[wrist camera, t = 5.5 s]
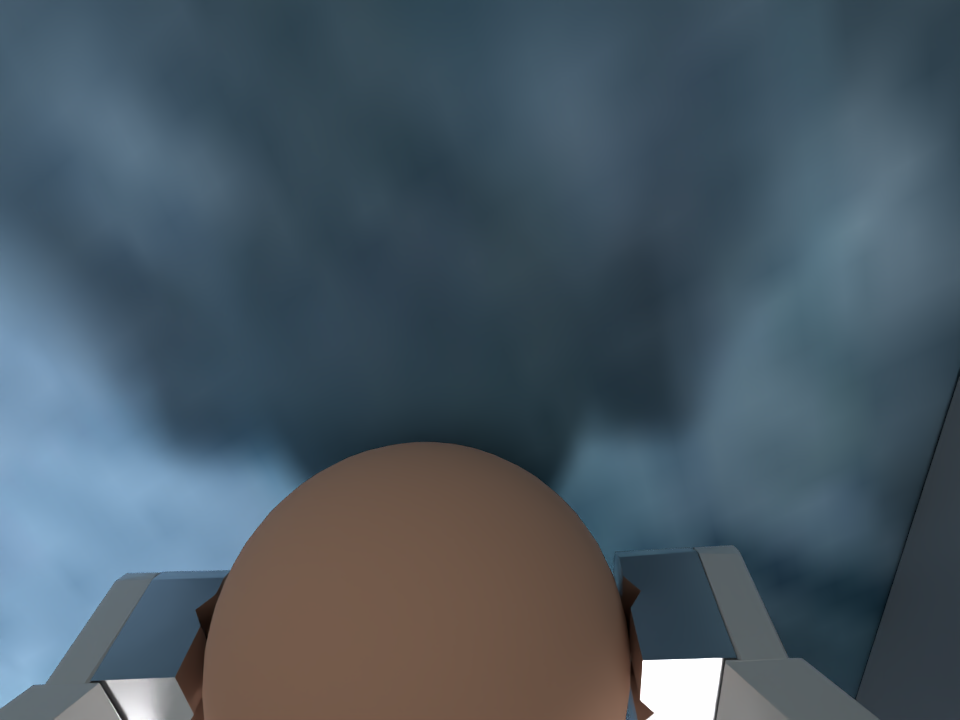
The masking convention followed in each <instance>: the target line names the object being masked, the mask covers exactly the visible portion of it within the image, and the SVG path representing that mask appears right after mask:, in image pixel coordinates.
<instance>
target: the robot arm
mask: <svg viewBox="0 0 960 720" xmlns="http://www.w3.org/2000/svg"><path fill="white" fill-rule="evenodd" d="M229 572H230V570H223V571H173V572H155V573H127V574H125V575H124V576H122V577H121V578H119V579H118V580H116V581H115V583H114V584H113V585H112V587H111V588H110V590H109V591H108V593H107V594H106V596H105V597H104V599H103V600H102V601H101V603H100V604H99V606H98V607H97V609H96V610H95V612H94V613H93V615H92V616H91V618H90V619H89V621H88V622H87V623H86V625H85V626H84V628H83V629H82V631H81V632H80V634H79V635H78V637H77V638H76V640H75V641H74V643H73V644H72V645H71V647H70V648H69V650H68V651H67V653H66V654H65V656H64V657H63V659H62V660H61V662H60V663H59V665H58V666H57V667H56V669H55V670H54V672H53V673H52V675H51V676H50V678H49V679H48V681H47V682H46V684H43V685H33V686H31V687H30V688H28V689H27V690H26V691H24V692H23V693H22V694H20V695H19V696H17V697H16V698H15V699H13V700H12V701H11V702H9V703H8V704H6V705H5V706H4V707H2V708H1V709H0V720H204V710H203V699H202V688H203V670H204V655H205V647H206V642H207V638H208V633H209V629H210V624H211V621H212V617H213V613H214V609H215V606H216V603H217V600H218V598H219V595H220V593H221V590H222V588H223V585H224V582H225V580H226V578H227V576H228V574H229ZM613 573H614V578H615V582H616V585H617V588H618V592H619V595H620V598H621V602H622V606H623V609H624V613H625V617H626V622H627V629H628V636H629V644H630V660H631V671H630V693H629V700H628V707H627V709H628V714H629V719H630V720H880V719H879V718H877V717H876V716H875V715H874V714H872V713H871V712H870V711H869V710H867V709H866V708H865V707H864V706H862V705H861V704H860V703H858V702H857V701H856V700H855V699H853V698H852V697H851V696H850V695H848V694H847V693H846V692H845V691H843V690H842V689H841V688H840V687H838V686H837V685H836V684H835V683H833V682H832V681H831V680H829V679H828V678H827V677H826V676H824V675H823V674H822V673H821V672H819V671H818V670H817V669H816V668H814V667H813V666H812V665H811V664H809V663H808V662H807V661H806V660H804V659H803V658H789V657H788V655H787V653H786V651H785V648H784V646H783V644H782V642H781V640H780V638H779V635H778V633H777V631H776V629H775V627H774V625H773V623H772V620H771V618H770V616H769V614H768V612H767V610H766V607H765V605H764V603H763V601H762V599H761V597H760V595H759V592H758V590H757V588H756V586H755V584H754V582H753V579H752V577H751V575H750V573H749V571H748V569H747V566H746V564H745V562H744V560H743V558H742V556H741V554H740V551H739V550H738V549H736V548H735V547H734V546H733V545H728V546H710V547H694V548H693V549H692V548H690V547H689V548H672V549H654V550H637V551H619V552H615V556H614V571H613Z"/></svg>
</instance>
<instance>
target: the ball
mask: <svg viewBox="0 0 960 720" xmlns="http://www.w3.org/2000/svg"><path fill="white" fill-rule="evenodd" d="M630 671H631V660H630V644H629V636H628V629H627V622H626V617H625V613H624V609H623V606H622V602H621V598H620V595H619V592H618V588H617V585H616V582H615V579H614V577H613V574H612V572H611V570H610V568H609V566H608V564H607V562H606V560H605V558H604V556H603V554H602V551H601V549H600V547H599V545H598V543H597V542H596V540H595V539H594V538H593V536H592V535H591V533H590V532H589V530H588V529H587V527H586V526H585V525H584V523H583V522H582V521H581V519H580V518H579V517H578V515H577V514H576V513H575V512H574V510H573V509H572V508H571V507H570V506H569V505H568V504H567V503H566V502H565V501H564V500H563V499H562V498H561V497H560V496H559V495H558V494H557V493H555V492H554V491H553V490H552V489H551V488H550V487H548V486H547V485H546V484H545V483H543V482H542V481H541V480H540V479H538V478H537V477H536V476H534V475H533V474H531V473H529V472H528V471H526V470H524V469H523V468H521V467H520V466H518V465H516V464H513V463H511V462H509V461H507V460H505V459H502V458H500V457H498V456H496V455H494V454H491V453H488V452H485V451H482V450H479V449H476V448H472V447H467V446H462V445H457V444H450V443H440V442H411V443H402V444H394V445H389V446H385V447H381V448H376V449H372V450H368V451H365V452H362V453H359V454H356V455H353V456H351V457H348V458H346V459H344V460H342V461H340V462H338V463H336V464H334V465H332V466H330V467H328V468H326V469H325V470H323V471H321V472H319V473H317V474H316V475H314V476H313V477H311V478H310V479H308V480H307V481H306V482H304V483H303V484H301V485H300V486H299V487H297V488H296V489H295V490H294V491H293V492H292V493H290V494H289V495H288V496H287V497H286V498H285V499H284V500H283V501H281V502H280V503H279V504H278V505H277V506H276V507H275V508H274V509H273V510H272V511H271V512H270V513H269V514H268V516H267V517H266V518H265V519H264V521H263V522H262V523H261V524H260V525H259V527H258V528H257V529H256V530H255V532H254V533H253V534H252V536H251V537H250V538H249V540H248V541H247V542H246V544H245V545H244V547H243V549H242V550H241V552H240V554H239V556H238V557H237V559H236V561H235V563H234V564H233V566H232V568H231V570H230V572H229V574H228V576H227V578H226V580H225V582H224V585H223V588H222V590H221V593H220V595H219V598H218V600H217V603H216V606H215V609H214V613H213V617H212V621H211V624H210V629H209V633H208V638H207V642H206V647H205V655H204V670H203V688H202V699H203V710H204V720H625V719H626V713H627V707H628V700H629V693H630Z"/></svg>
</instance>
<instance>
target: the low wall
mask: <svg viewBox="0 0 960 720" xmlns="http://www.w3.org/2000/svg"><path fill="white" fill-rule="evenodd" d="M856 701H857V702H858V703H860V704H861V705H862V706H864V707H865V708H866V709H867V710H869V711H870V712H871V713H872V714H874V715H875V716H876V717H877V718H879V719H880V720H960V376H959V379H958V383H957V386H956V389H955V392H954V395H953V398H952V401H951V404H950V407H949V411H948V414H947V417H946V420H945V423H944V426H943V429H942V432H941V436H940V439H939V442H938V445H937V448H936V451H935V454H934V457H933V460H932V464H931V467H930V470H929V473H928V476H927V479H926V482H925V485H924V488H923V492H922V495H921V498H920V501H919V504H918V507H917V510H916V513H915V516H914V520H913V523H912V526H911V529H910V532H909V535H908V538H907V541H906V545H905V548H904V551H903V554H902V557H901V560H900V563H899V566H898V569H897V573H896V576H895V579H894V582H893V585H892V588H891V591H890V594H889V597H888V601H887V604H886V607H885V610H884V613H883V616H882V619H881V622H880V626H879V629H878V632H877V635H876V638H875V641H874V644H873V647H872V650H871V654H870V657H869V660H868V663H867V666H866V669H865V672H864V675H863V678H862V682H861V685H860V688H859V691H858V694H857V697H856Z"/></svg>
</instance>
